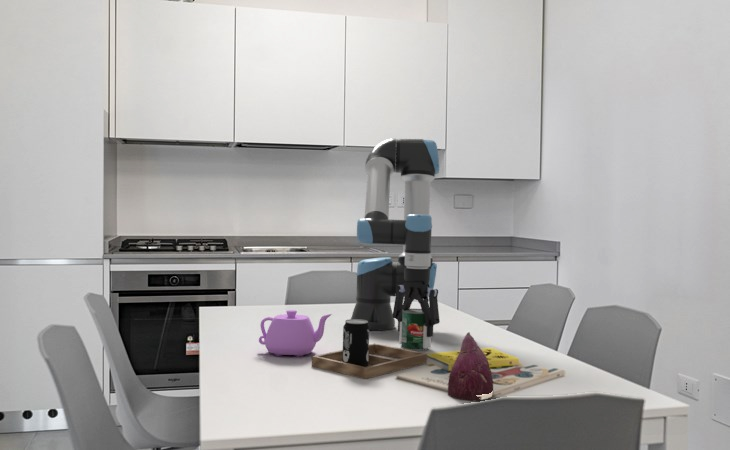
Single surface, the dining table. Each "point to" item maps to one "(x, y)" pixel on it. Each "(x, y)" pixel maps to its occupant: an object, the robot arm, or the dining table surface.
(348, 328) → the beverage can
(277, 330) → the teapot
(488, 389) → the vegetable
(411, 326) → the canned tomato
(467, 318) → the dining table surface
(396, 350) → the tray
